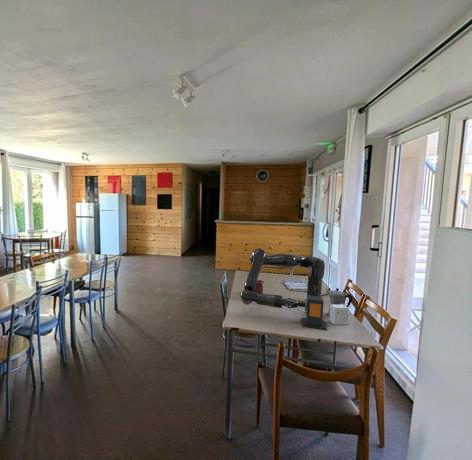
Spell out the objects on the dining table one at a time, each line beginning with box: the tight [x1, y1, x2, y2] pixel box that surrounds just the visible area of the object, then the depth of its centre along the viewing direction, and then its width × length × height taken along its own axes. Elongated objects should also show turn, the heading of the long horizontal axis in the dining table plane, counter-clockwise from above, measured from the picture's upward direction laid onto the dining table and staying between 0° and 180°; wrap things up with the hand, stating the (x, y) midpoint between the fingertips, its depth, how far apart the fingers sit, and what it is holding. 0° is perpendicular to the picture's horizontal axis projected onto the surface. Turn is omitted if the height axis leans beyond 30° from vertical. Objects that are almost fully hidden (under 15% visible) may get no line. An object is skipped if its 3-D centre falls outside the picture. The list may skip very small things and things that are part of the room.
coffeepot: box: [325, 287, 354, 317], centre depth 183 cm, size 15×9×18 cm, turn 43°
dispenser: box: [301, 294, 327, 331], centre depth 171 cm, size 12×12×16 cm
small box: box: [329, 303, 349, 326], centre depth 173 cm, size 8×6×10 cm
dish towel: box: [282, 280, 307, 292], centre depth 247 cm, size 17×24×3 cm
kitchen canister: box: [254, 275, 264, 294], centre depth 221 cm, size 13×13×18 cm
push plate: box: [303, 298, 307, 312], centre depth 172 cm, size 6×1×5 cm, turn 159°
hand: (304, 305), depth 172 cm, fingers closed
